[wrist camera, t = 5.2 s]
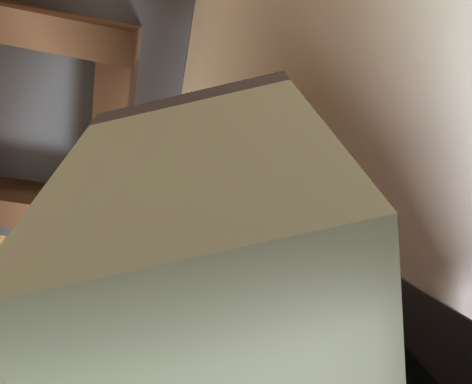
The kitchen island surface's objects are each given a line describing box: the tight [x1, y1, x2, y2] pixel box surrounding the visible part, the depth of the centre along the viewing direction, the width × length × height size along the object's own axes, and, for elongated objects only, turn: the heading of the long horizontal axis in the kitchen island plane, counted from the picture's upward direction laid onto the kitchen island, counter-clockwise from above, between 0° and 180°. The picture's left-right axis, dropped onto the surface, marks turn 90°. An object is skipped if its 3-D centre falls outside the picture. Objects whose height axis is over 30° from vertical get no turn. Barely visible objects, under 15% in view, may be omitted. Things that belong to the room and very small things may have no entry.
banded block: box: [0, 71, 406, 384], centre depth 8 cm, size 4×7×6 cm, turn 12°
